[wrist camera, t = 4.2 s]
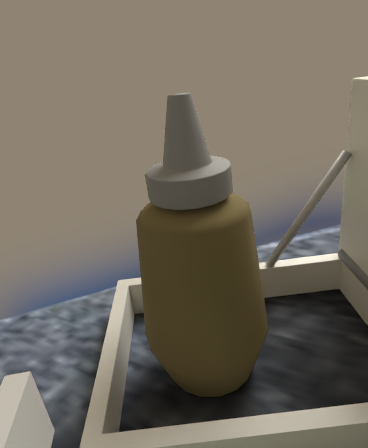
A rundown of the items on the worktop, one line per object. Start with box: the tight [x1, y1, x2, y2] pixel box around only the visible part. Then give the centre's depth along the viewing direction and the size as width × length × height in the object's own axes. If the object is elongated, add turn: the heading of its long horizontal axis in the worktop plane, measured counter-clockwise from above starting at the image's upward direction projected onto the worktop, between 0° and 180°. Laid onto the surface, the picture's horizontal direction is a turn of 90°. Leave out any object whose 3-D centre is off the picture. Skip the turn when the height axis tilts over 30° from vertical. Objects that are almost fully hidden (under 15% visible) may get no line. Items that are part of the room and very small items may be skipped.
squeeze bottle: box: [136, 93, 269, 397], centre depth 21 cm, size 8×8×18 cm
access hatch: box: [80, 76, 368, 448], centre depth 21 cm, size 20×15×17 cm
